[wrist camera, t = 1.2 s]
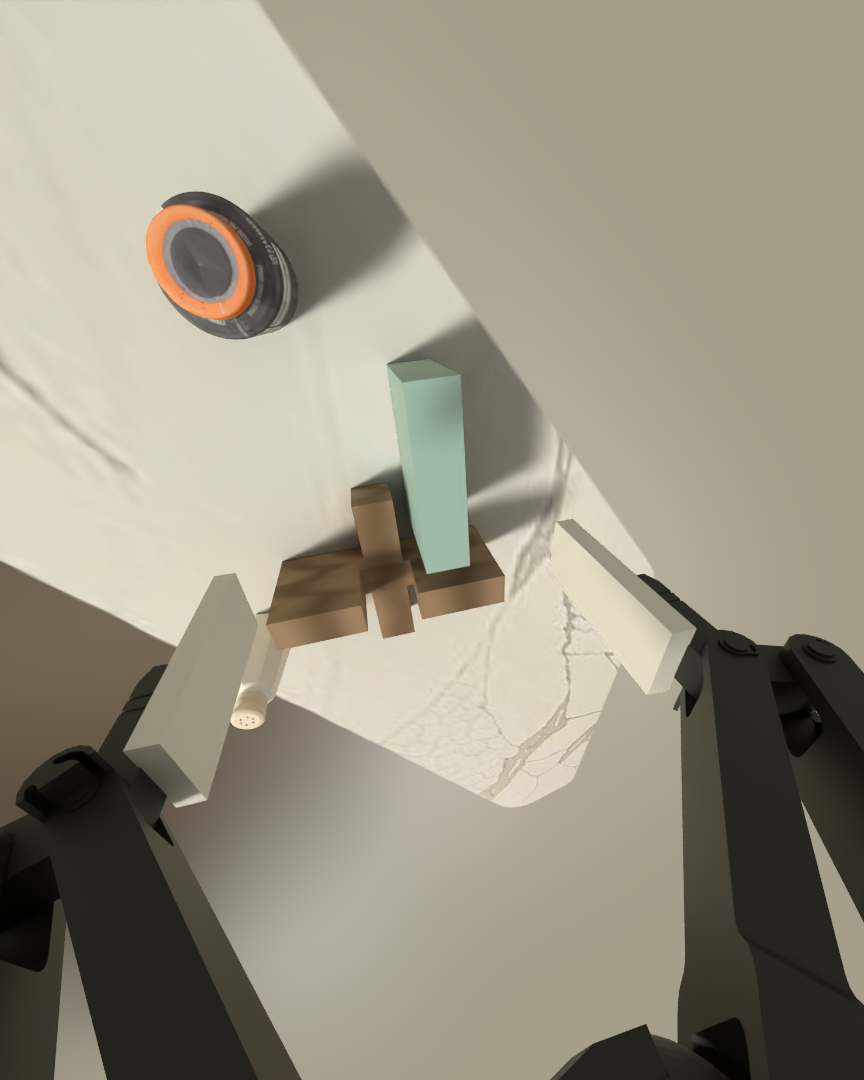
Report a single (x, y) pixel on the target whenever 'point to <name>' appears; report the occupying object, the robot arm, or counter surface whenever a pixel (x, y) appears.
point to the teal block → (432, 459)
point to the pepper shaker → (259, 678)
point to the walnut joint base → (375, 581)
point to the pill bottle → (220, 267)
